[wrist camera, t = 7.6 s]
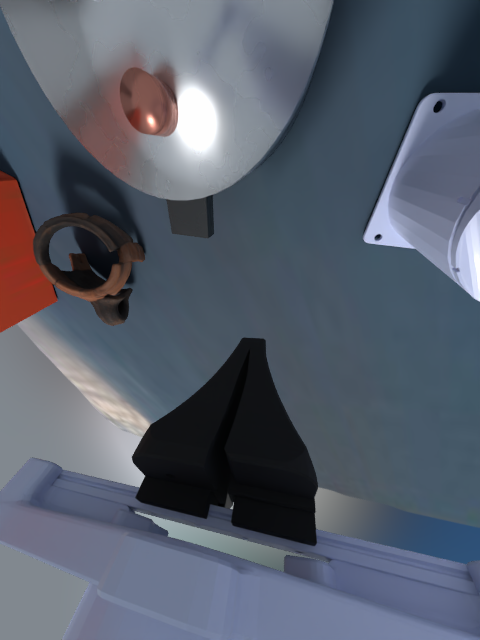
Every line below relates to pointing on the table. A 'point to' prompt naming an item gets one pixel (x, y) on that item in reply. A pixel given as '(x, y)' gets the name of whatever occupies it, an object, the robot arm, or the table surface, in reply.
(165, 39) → the cooker lid
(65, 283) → the pottery mug
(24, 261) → the file binder
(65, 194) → the table surface
